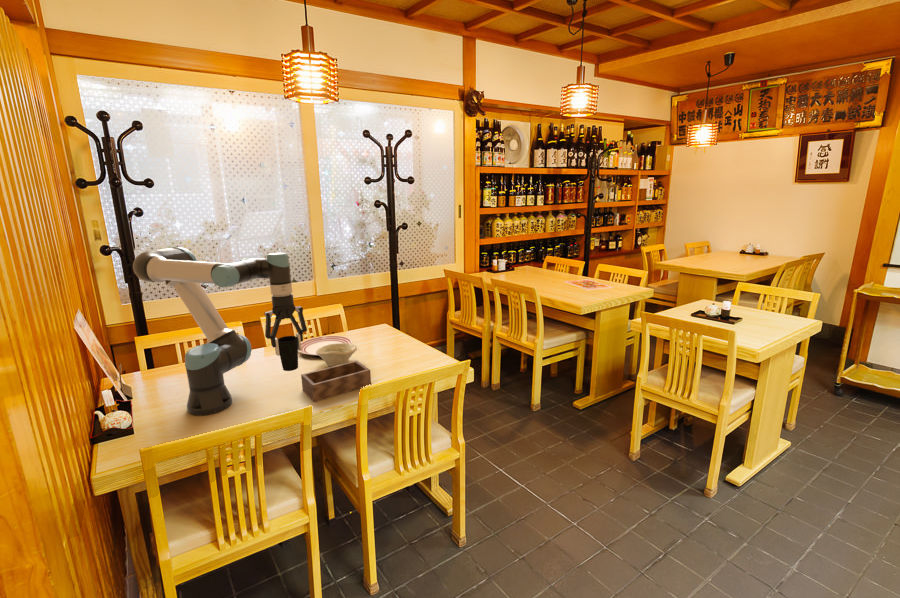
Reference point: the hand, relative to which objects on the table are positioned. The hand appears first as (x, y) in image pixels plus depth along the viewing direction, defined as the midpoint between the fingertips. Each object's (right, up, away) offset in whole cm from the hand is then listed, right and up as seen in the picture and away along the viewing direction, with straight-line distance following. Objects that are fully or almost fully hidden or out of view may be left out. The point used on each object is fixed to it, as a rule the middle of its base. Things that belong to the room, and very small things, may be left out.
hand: (288, 352), depth 172 cm
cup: (0, -7, +2) cm, 7 cm away
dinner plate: (-2, -6, +59) cm, 60 cm away
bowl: (+9, -11, +39) cm, 42 cm away
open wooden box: (+15, -17, +14) cm, 26 cm away
